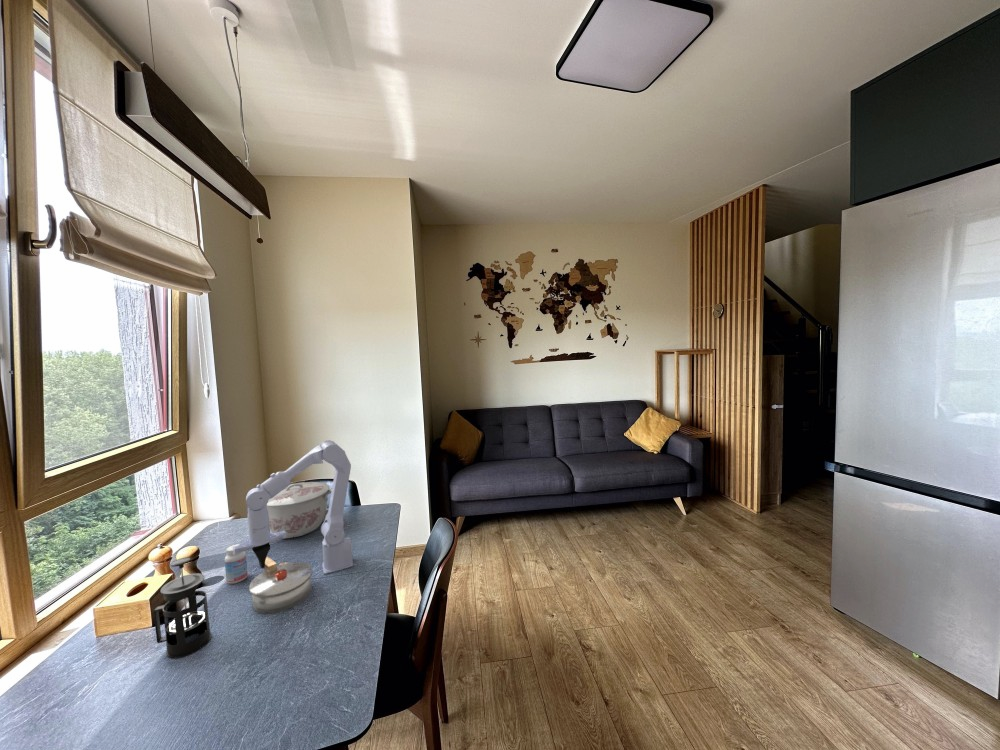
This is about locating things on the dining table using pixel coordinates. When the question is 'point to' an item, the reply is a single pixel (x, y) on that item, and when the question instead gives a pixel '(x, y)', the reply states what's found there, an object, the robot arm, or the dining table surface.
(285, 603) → the white oval dish
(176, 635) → the french press
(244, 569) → the pill bottle
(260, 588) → the cooker lid
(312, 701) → the dining table surface
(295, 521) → the chamber pot
